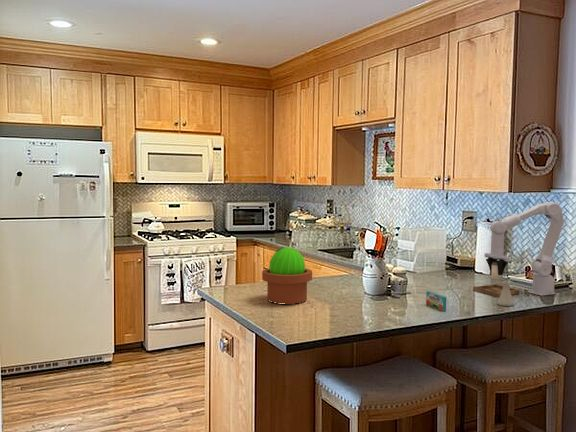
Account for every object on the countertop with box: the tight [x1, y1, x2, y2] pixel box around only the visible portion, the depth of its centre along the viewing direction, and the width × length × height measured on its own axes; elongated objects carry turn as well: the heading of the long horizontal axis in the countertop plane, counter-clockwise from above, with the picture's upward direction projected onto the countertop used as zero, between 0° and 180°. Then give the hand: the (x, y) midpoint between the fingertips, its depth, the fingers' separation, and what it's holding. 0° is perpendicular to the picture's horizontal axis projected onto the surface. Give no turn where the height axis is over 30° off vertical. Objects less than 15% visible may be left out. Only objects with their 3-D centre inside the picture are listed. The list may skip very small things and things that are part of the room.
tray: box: [473, 284, 520, 298], centre depth 250 cm, size 15×15×2 cm
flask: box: [496, 281, 515, 307], centre depth 226 cm, size 7×7×10 cm
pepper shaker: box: [490, 262, 502, 281], centre depth 249 cm, size 4×4×8 cm
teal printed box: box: [425, 290, 447, 312], centre depth 220 cm, size 12×2×6 cm, turn 20°
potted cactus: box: [261, 246, 313, 305], centre depth 232 cm, size 22×22×25 cm
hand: (496, 274), depth 249 cm, fingers closed on pepper shaker, 4 cm apart
